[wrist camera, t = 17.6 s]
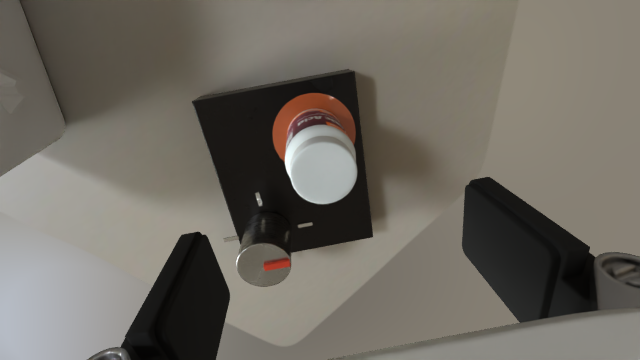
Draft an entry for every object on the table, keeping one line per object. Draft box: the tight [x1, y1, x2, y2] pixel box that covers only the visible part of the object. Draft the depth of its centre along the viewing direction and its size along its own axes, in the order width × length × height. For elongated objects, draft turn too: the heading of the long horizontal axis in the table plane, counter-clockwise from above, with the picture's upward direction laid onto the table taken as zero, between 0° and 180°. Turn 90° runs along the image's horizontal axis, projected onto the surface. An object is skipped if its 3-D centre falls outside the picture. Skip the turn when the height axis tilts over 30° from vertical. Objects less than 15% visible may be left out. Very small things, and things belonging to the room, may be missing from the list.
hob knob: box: [236, 212, 291, 287], centre depth 26 cm, size 4×4×5 cm
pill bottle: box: [285, 109, 357, 204], centre depth 21 cm, size 5×5×8 cm
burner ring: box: [273, 93, 356, 162], centre depth 25 cm, size 7×7×1 cm
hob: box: [192, 69, 373, 253], centre depth 28 cm, size 17×14×3 cm
